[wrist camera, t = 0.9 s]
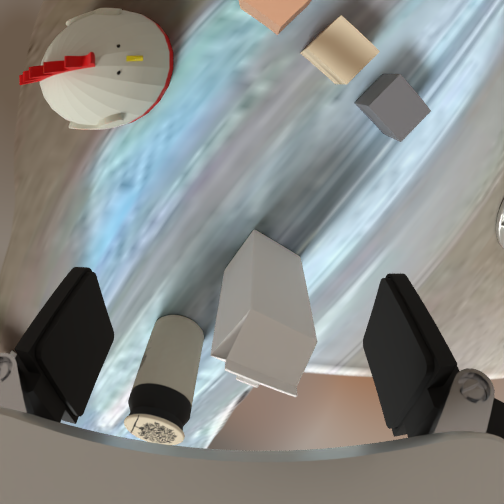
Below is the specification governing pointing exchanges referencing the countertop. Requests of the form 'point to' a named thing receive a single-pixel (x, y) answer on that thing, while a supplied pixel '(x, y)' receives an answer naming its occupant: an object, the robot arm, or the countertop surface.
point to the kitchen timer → (105, 69)
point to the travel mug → (166, 381)
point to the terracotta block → (274, 11)
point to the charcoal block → (393, 106)
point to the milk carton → (264, 316)
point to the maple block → (340, 51)
